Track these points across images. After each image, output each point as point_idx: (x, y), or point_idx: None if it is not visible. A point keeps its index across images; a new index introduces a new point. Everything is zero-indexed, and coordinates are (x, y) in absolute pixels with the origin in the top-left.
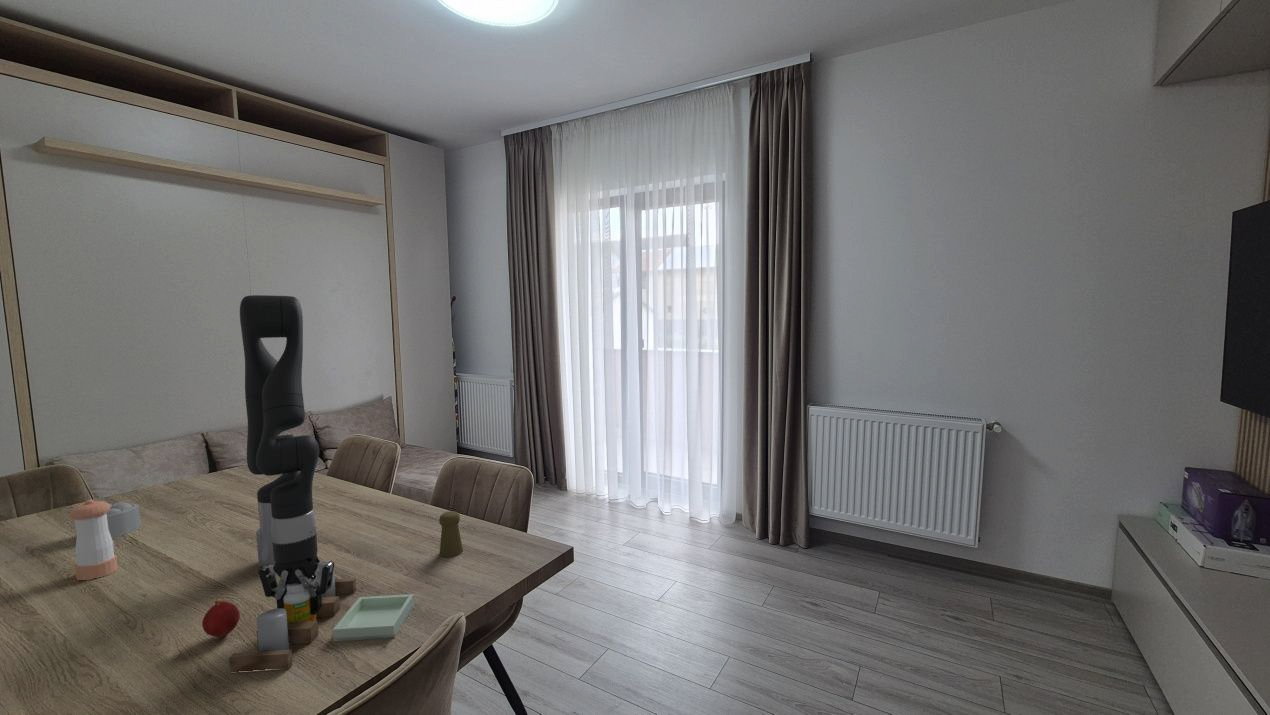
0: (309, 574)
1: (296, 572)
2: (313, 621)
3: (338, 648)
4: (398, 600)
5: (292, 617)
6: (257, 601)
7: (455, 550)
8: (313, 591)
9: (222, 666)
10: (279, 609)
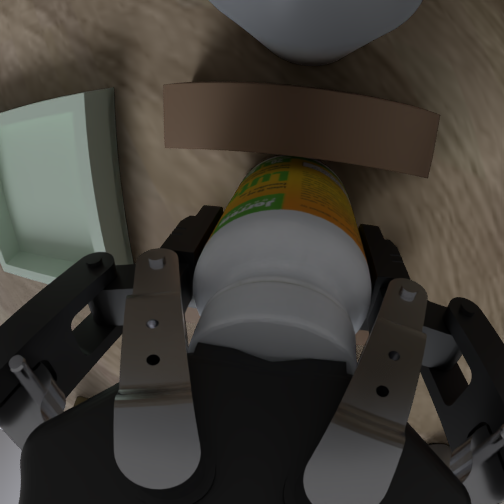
0: (103, 396)
1: (181, 459)
2: (180, 143)
3: (84, 52)
4: (29, 262)
5: (297, 178)
6: (463, 366)
7: (75, 405)
8: (144, 274)
9: (473, 17)
10: (288, 23)
